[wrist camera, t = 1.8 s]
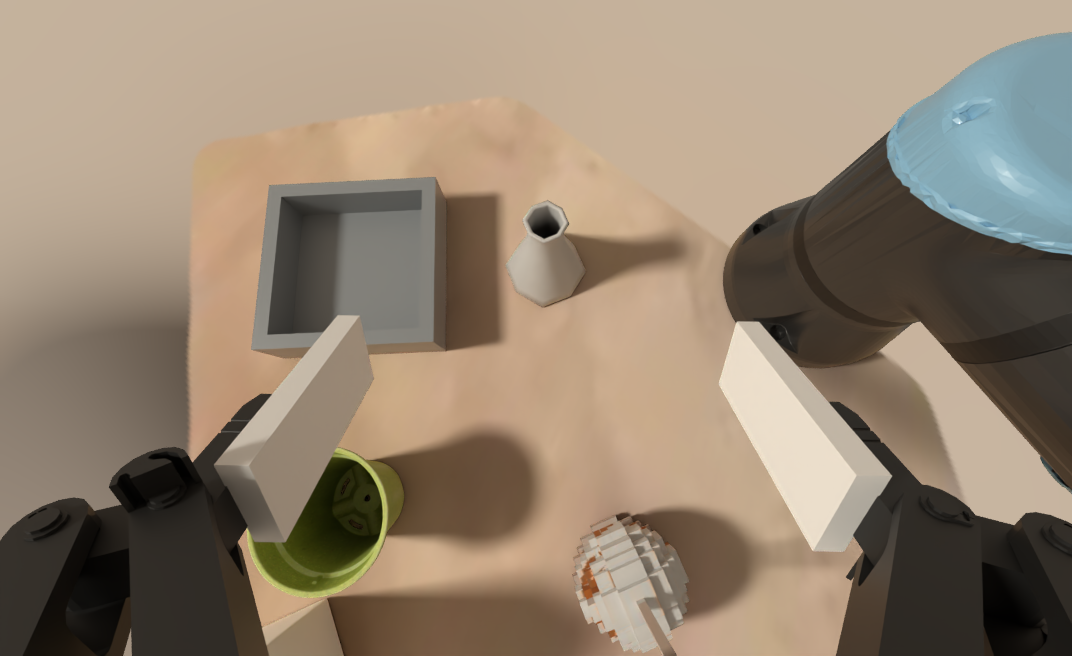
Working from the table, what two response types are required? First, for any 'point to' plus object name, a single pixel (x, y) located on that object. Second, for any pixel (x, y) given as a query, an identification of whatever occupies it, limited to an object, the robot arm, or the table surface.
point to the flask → (545, 257)
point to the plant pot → (334, 529)
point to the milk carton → (304, 633)
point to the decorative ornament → (631, 584)
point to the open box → (353, 265)
